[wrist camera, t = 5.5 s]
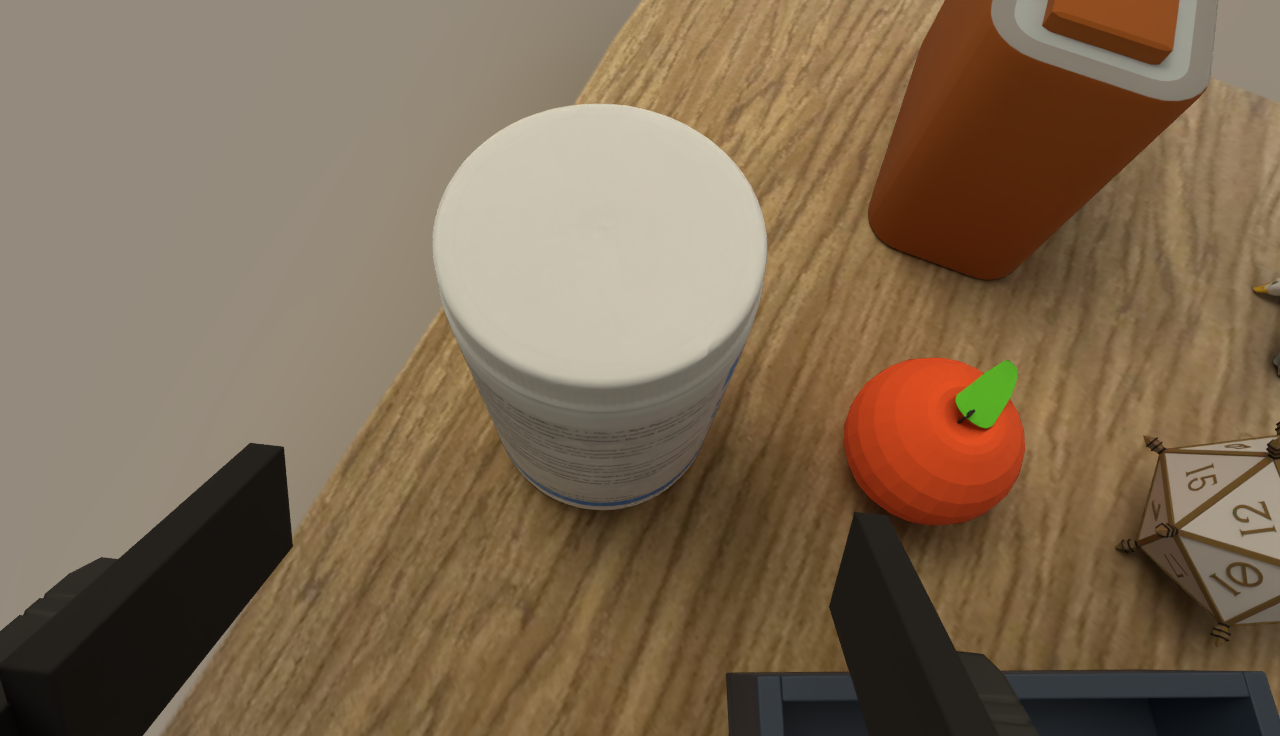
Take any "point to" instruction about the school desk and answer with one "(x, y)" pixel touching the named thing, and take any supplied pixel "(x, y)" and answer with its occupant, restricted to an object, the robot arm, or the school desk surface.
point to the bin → (1028, 703)
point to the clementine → (936, 439)
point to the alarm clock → (1030, 119)
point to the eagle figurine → (1275, 289)
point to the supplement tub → (600, 293)
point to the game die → (1218, 527)
